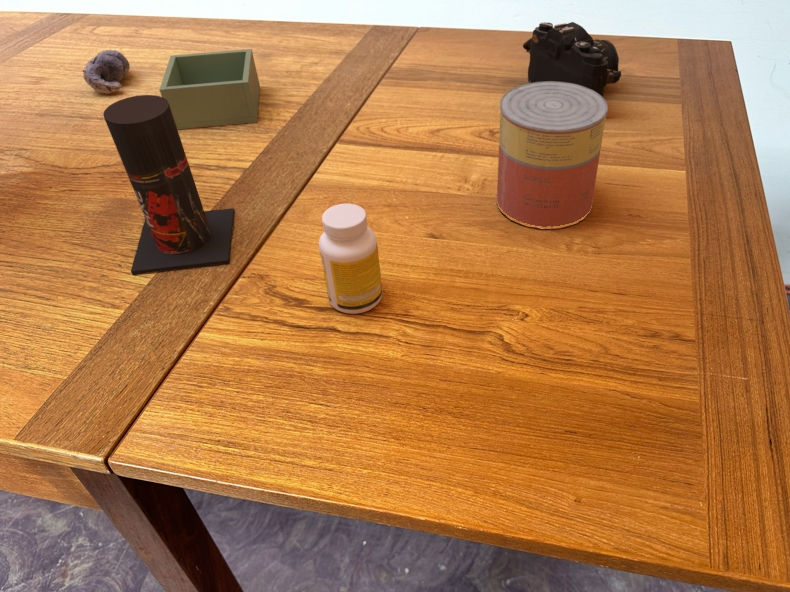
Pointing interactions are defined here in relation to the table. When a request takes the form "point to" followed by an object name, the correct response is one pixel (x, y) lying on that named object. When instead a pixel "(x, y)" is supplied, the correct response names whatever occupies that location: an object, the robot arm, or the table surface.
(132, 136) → the deodorant
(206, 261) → the pad
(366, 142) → the table surface
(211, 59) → the bin
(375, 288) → the supplement bottle
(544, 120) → the canned food
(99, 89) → the grey crumpled cloth
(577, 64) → the film camera
